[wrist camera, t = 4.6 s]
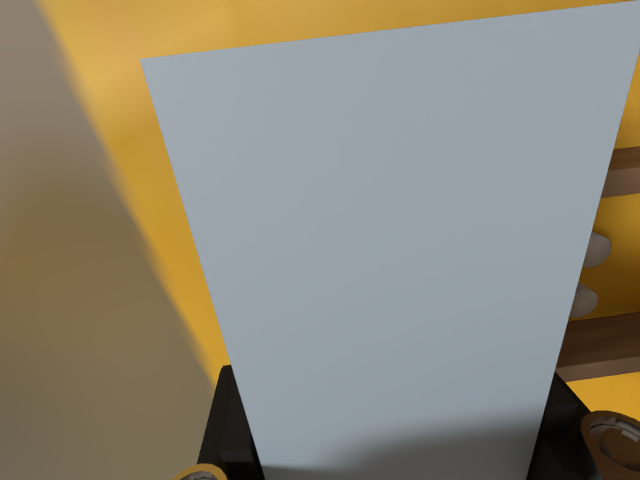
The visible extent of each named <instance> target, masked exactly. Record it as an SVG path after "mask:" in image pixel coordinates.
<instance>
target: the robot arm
mask: <svg viewBox="0 0 640 480" xmlns="http://www.w3.org/2000/svg"><path fill="white" fill-rule="evenodd" d="M171 480H265V476H264V473H263V470H262V466H261V463H260V460H259V456H258V453H257V450H256V446H255V443H254V440H253V436H252V433H251V430H250V426H249V423H248V420H247V416H246V413H245V409H244V406H243V403H242V399H241V396H240V393H239V389H238V386H237V383H236V379H235V376H234V373H233V369H232V366H231V365H226V366H223V367H222V368H221V371H220V374H219V378H218V382H217V386H216V390H215V394H214V398H213V402H212V406H211V410H210V414H209V418H208V422H207V426H206V430H205V434H204V438H203V442H202V446H201V450H200V454H199V458H198V462H197V465H194V466H190V467H188V468H186V469H185V470H183V471H181V472H179V473H178V474H177V475H176V476H175V477H173V478H172V479H171ZM526 480H640V422H639V421H637V420H636V419H634V418H631V417H629V416H626V415H623V414H621V413H617V412H612V411H594V412H591V411H590V410H589V409H588V408H587V407H586V406H585V405H584V404H583V402H582V401H581V400H580V399H579V398H578V397H577V396H576V394H575V393H574V392H573V391H572V390H571V389H570V388H569V386H568V385H567V384H566V383H565V382H564V381H563V380H562V379H561V377H560V376H559V375H558V374H557V373H556V372H555V371H554V375H553V379H552V383H551V386H550V390H549V394H548V398H547V402H546V405H545V409H544V413H543V417H542V420H541V424H540V428H539V432H538V436H537V439H536V443H535V447H534V451H533V455H532V458H531V462H530V466H529V470H528V473H527V477H526Z"/></svg>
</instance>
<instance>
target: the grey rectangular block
mask: <svg viewBox="0 0 640 480" xmlns="http://www.w3.org/2000/svg"><path fill="white" fill-rule="evenodd" d="M639 50H640V0H637V1H628V2H620V3H611V4H603V5H594V6H586V7H577V8H569V9H560V10H552V11H543V12H535V13H526V14H518V15H510V16H501V17H493V18H484V19H476V20H467V21H459V22H450V23H442V24H433V25H425V26H416V27H408V28H399V29H391V30H382V31H374V32H365V33H357V34H348V35H340V36H331V37H323V38H314V39H306V40H297V41H289V42H280V43H272V44H264V45H255V46H247V47H238V48H230V49H221V50H213V51H204V52H196V53H187V54H179V55H170V56H162V57H153V58H145V59H140V62H141V65H142V68H143V72H144V75H145V78H146V82H147V85H148V88H149V92H150V95H151V98H152V102H153V105H154V109H155V112H156V115H157V119H158V122H159V125H160V129H161V132H162V135H163V139H164V142H165V145H166V149H167V152H168V155H169V159H170V162H171V165H172V169H173V172H174V175H175V179H176V182H177V185H178V189H179V192H180V195H181V199H182V202H183V206H184V209H185V212H186V216H187V219H188V222H189V226H190V229H191V232H192V236H193V239H194V242H195V246H196V249H197V252H198V256H199V259H200V262H201V266H202V269H203V272H204V276H205V279H206V282H207V286H208V289H209V292H210V296H211V299H212V302H213V306H214V309H215V313H216V316H217V319H218V323H219V326H220V329H221V333H222V336H223V339H224V343H225V346H226V349H227V353H228V356H229V359H230V363H231V366H232V369H233V373H234V376H235V379H236V383H237V386H238V389H239V393H240V396H241V399H242V403H243V406H244V409H245V413H246V416H247V420H248V423H249V426H250V430H251V433H252V436H253V440H254V443H255V446H256V450H257V453H258V456H259V460H260V463H261V466H262V470H263V473H264V476H265V480H526V477H527V473H528V470H529V466H530V462H531V458H532V455H533V451H534V447H535V443H536V439H537V436H538V432H539V428H540V424H541V420H542V417H543V413H544V409H545V405H546V402H547V398H548V394H549V390H550V386H551V383H552V379H553V375H554V371H555V368H556V364H557V360H558V356H559V352H560V349H561V345H562V341H563V337H564V334H565V330H566V326H567V322H568V318H569V315H570V311H571V307H572V303H573V300H574V296H575V292H576V288H577V284H578V281H579V277H580V273H581V269H582V266H583V262H584V258H585V254H586V250H587V247H588V243H589V239H590V235H591V232H592V228H593V224H594V220H595V216H596V213H597V209H598V205H599V201H600V198H601V194H602V190H603V186H604V182H605V179H606V175H607V171H608V167H609V164H610V160H611V156H612V152H613V148H614V145H615V141H616V137H617V133H618V130H619V126H620V122H621V118H622V114H623V111H624V107H625V103H626V99H627V96H628V92H629V88H630V84H631V80H632V77H633V73H634V69H635V65H636V61H637V58H638V54H639Z"/></svg>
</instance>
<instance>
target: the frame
mask: <svg viewBox="0 0 640 480" xmlns="http://www.w3.org/2000/svg"><path fill="white" fill-rule="evenodd" d="M635 193H640V146H639V147H631V148H623V149H615V150H613V152H612V156H611V160H610V164H609V167H608V171H607V175H606V179H605V182H604V186H603V190H602V194H601V198H604V197H612V196H620V195H627V194H635ZM611 247H612V246H611V242H610V240H609V239H608V238H606V237H604V236H601V235H599V234H597V233H595V232H593V231H592V232H591V235H590V239H589V243H588V247H587V250H586V254H585V258H584V262H583V266H582V267H585V268H592V267H595V266H598V265H600V264H601V263H602V262H604V261H605V260H606V259H607V257H608V256H609V254H610V252H611ZM597 303H598V296H597V294H596V293H595V292H594V291H592V290H591V289H589V288H588V287H586V286H585V285H583V284H582V283H580V282H579V281H578V284H577V288H576V292H575V296H574V300H573V303H572V307H571V311H570V315H569V316H571V317H574V318H579V317H583V316H585V315H587V314H589V313H590V312H592V311H593V310H594V308H595V307H596V305H597ZM555 372H556V373H557V374H558V375H559V376H560V377H561V379H562V380H563V381H564V382H570V381H577V380H584V379H591V378H598V377H605V376H612V375H619V374H626V373H633V372H640V312H639V313H632V314H625V315H617V316H610V317H603V318H596V319H588V320H581V321H574V322H567V326H566V330H565V334H564V337H563V341H562V345H561V349H560V352H559V356H558V360H557V364H556V368H555Z"/></svg>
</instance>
